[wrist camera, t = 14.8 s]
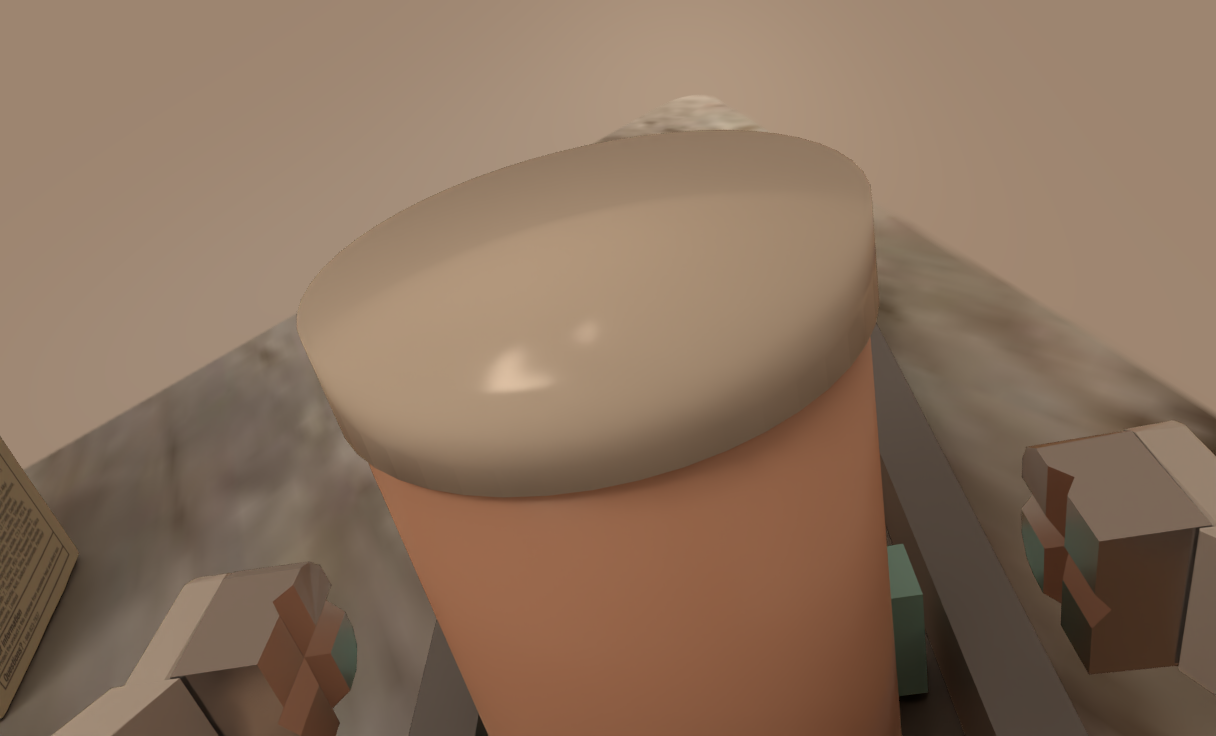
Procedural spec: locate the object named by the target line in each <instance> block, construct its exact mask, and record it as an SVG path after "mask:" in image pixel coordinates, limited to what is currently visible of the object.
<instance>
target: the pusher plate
mask: <svg viewBox="0 0 1216 736" xmlns="http://www.w3.org/2000/svg"><path fill="white" fill-rule="evenodd" d="M887 553H888V566H889V579H890V592H891V604H892V617H893V630H894V643H895V655H896V668H897V681H898V694H899V696H904V695H912V694H920V693H928V680H927V662H926V643H925V624H924V606H923V593H922V591H921V588H920V586H919V583H918V580H917V578H916V575H915V573H914V570H913V568H912V565H911V563H910V560H909V557H908V555H907V552H906V550H905V547H904V545H903V544H897V545H891V546H887Z"/></svg>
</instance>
